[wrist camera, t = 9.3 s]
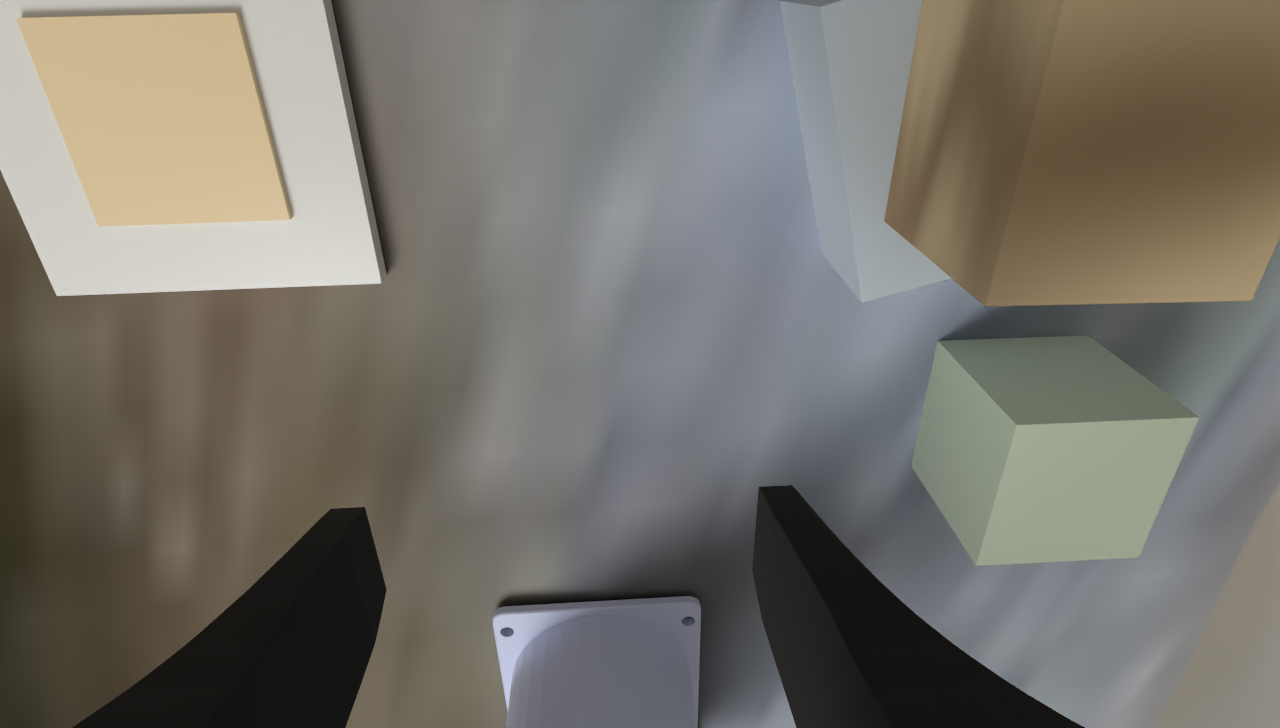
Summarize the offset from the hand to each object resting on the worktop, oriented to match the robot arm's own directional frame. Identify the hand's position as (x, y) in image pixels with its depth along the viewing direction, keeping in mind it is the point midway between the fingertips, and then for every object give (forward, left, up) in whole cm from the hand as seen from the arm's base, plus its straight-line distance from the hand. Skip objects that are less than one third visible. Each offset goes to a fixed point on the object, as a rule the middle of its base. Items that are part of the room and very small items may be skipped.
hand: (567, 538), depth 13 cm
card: (+6, +10, -10) cm, 15 cm away
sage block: (-4, -14, -10) cm, 18 cm away
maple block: (+6, -10, -6) cm, 13 cm away
